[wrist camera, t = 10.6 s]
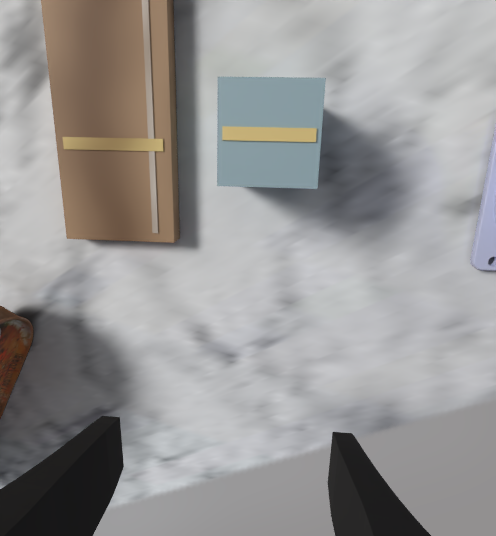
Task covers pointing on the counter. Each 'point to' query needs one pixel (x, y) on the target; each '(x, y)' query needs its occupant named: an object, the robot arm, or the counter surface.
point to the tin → (12, 351)
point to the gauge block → (269, 131)
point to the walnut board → (115, 117)
